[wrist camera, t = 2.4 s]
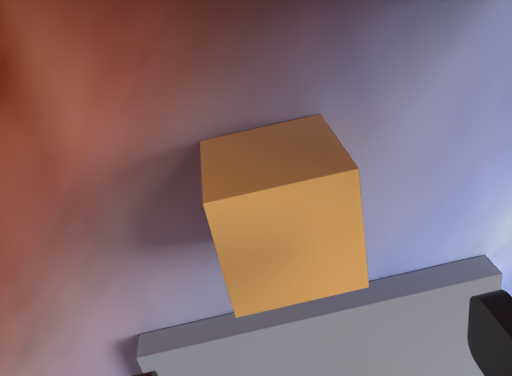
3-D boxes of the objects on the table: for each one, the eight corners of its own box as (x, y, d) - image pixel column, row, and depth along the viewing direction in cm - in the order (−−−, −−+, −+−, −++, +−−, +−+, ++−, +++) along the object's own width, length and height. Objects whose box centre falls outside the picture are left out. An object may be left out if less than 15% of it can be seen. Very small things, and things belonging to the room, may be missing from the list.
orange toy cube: (320, 113, 19) (358, 168, 15) (332, 214, 22) (368, 287, 17) (199, 140, 19) (202, 203, 15) (226, 239, 21) (235, 317, 17)
